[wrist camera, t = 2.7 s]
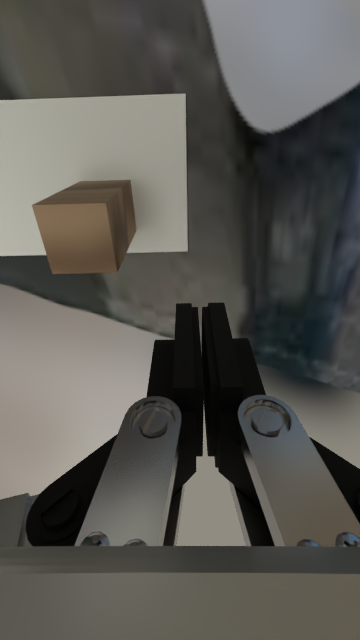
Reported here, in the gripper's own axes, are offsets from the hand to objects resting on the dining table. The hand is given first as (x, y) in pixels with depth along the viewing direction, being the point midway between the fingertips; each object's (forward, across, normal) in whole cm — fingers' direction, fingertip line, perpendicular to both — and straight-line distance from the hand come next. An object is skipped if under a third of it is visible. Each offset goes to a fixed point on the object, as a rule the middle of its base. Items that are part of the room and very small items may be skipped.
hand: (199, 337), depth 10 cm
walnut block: (+23, +8, 0) cm, 24 cm away
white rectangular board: (+23, +12, -2) cm, 26 cm away
